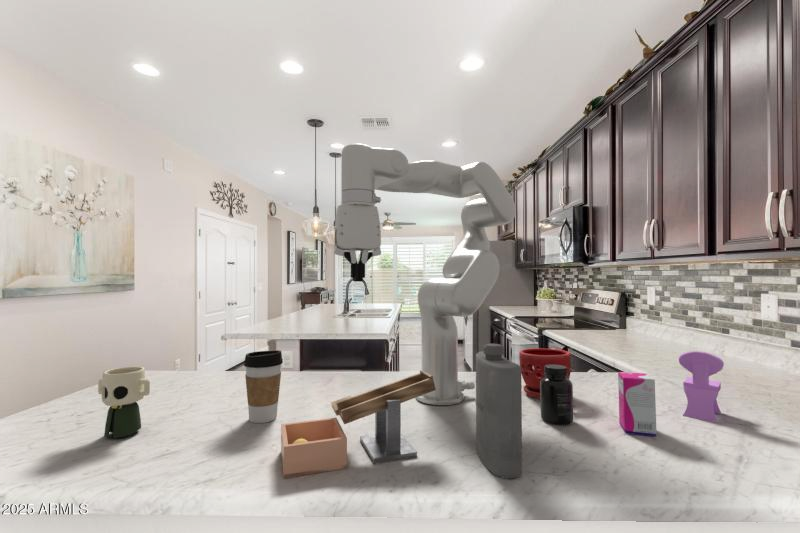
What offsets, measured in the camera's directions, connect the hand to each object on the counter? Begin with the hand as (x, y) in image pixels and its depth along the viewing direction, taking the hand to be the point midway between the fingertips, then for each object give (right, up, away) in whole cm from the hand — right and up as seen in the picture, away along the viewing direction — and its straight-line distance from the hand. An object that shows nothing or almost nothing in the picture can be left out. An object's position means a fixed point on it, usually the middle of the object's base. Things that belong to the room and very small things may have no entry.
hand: (357, 281), depth 89 cm
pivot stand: (+7, -31, -15) cm, 35 cm away
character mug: (-47, -31, -9) cm, 57 cm away
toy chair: (+80, -31, +3) cm, 86 cm away
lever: (+6, -22, -13) cm, 27 cm away
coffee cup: (-22, -31, 0) cm, 38 cm away
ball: (-8, -28, -20) cm, 36 cm away
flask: (+26, -31, -19) cm, 45 cm away
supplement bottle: (+45, -31, -1) cm, 54 cm away
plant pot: (+49, -32, +17) cm, 61 cm away
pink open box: (-6, -31, -20) cm, 37 cm away
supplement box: (+59, -31, -7) cm, 67 cm away
